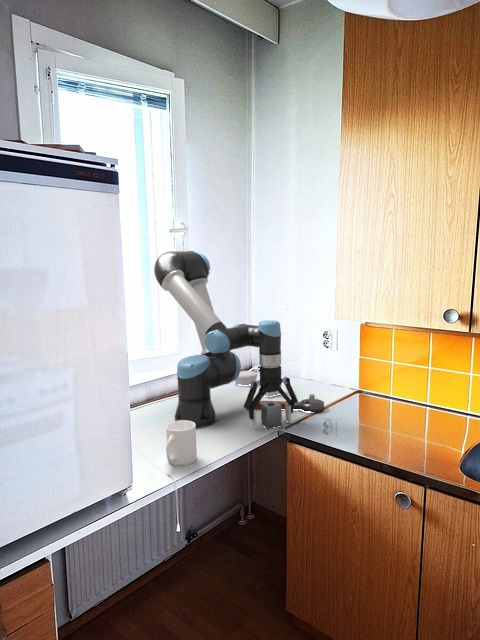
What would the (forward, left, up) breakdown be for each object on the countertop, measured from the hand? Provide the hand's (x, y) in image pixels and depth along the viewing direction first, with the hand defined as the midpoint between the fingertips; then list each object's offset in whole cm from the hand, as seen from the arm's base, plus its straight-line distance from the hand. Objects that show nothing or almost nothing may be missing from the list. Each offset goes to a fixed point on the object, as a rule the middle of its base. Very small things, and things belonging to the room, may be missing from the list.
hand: (271, 425), depth 163 cm
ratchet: (+4, +18, 0) cm, 19 cm away
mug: (-24, -32, 0) cm, 40 cm away
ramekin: (-17, +52, 0) cm, 55 cm away
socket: (0, 0, 0) cm, 0 cm away
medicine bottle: (-4, +36, 0) cm, 36 cm away
